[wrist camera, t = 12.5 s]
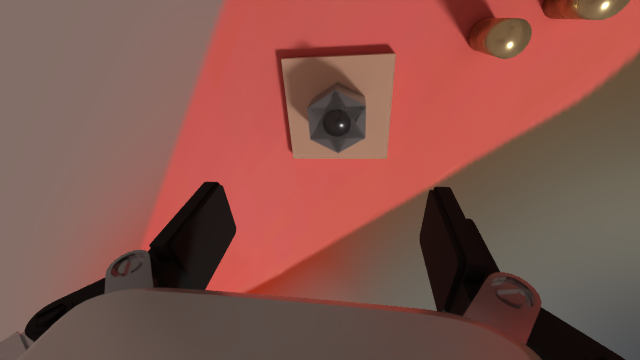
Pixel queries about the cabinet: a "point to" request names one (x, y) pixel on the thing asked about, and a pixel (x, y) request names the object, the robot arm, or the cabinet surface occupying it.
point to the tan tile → (355, 73)
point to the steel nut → (337, 117)
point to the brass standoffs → (515, 33)
